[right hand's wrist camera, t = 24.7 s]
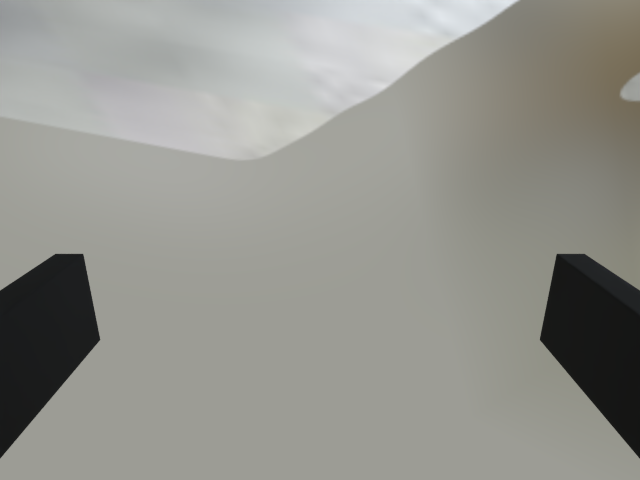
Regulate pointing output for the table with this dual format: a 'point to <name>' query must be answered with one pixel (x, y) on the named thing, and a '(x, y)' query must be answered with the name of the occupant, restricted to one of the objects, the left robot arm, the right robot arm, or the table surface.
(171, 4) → the table surface
